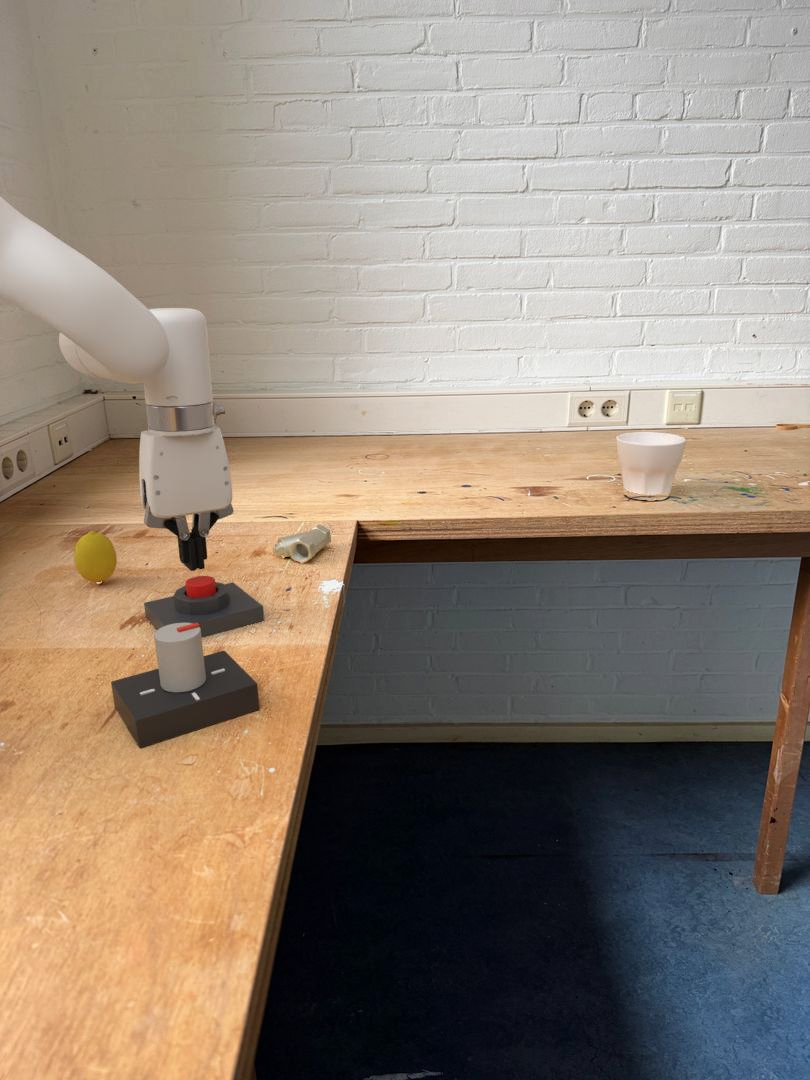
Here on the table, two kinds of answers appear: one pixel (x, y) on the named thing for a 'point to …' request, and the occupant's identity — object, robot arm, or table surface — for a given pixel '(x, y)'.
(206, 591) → the power button
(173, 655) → the timer dial
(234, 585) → the switch block
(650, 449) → the cup
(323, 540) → the pipe fitting
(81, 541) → the lemon
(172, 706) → the panel
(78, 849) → the table surface
